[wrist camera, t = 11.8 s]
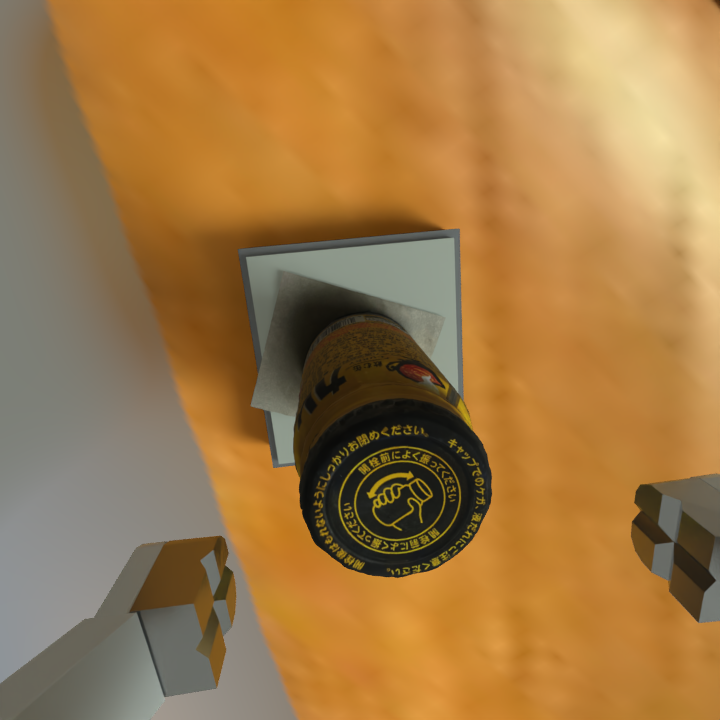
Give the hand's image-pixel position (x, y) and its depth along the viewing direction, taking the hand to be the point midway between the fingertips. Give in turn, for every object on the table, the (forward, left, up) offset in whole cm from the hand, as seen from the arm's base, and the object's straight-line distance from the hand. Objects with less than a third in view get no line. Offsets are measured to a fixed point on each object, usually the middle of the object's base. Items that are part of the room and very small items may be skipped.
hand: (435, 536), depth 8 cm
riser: (0, 0, -18) cm, 18 cm away
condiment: (0, -1, -15) cm, 15 cm away
